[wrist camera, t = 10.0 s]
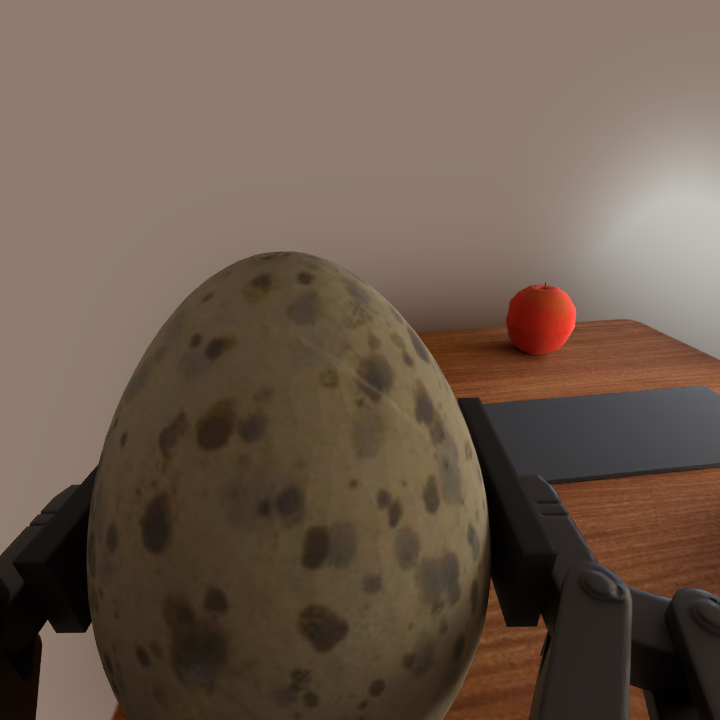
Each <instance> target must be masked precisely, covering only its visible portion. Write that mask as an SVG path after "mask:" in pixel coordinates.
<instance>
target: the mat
mask: <svg viewBox="0 0 720 720" xmlns="http://www.w3.org/2000/svg"><path fill="white" fill-rule="evenodd" d="M482 405H483V407H484V409H485V411H486V413H487V415H488V417H489V419H490V421H491V423H492V425H493V427H494V429H495V431H496V433H497V435H498V436H499V438H500V440H501V442H502V444H503V446H504V448H505V450H506V452H507V454H508V456H509V458H510V460H511V462H512V464H513V466H514V468H515V470H516V472H517V474H518V475H540V476H541V477H542V478H543V479H545V480H546V481H547V482H548V483H549V484H558V483H568V482H578V481H588V480H597V479H607V478H617V477H627V476H636V475H646V474H656V473H665V472H675V471H685V470H695V469H704V468H714V467H720V395H719V394H717V393H715V392H713V391H712V390H710V389H708V388H706V387H705V386H693V387H681V388H669V389H657V390H645V391H633V392H622V393H610V394H598V395H586V396H574V397H563V398H551V399H539V400H527V401H515V402H503V403H492V404H482Z"/></svg>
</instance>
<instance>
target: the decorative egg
mask: <svg viewBox="0 0 720 720" xmlns="http://www.w3.org/2000/svg"><path fill="white" fill-rule="evenodd" d="M490 579H491V535H490V524H489V513H488V506H487V499H486V493H485V488H484V483H483V478H482V473H481V469H480V465H479V462H478V458H477V454H476V451H475V448H474V445H473V442H472V439H471V436H470V434H469V431H468V428H467V425H466V422H465V420H464V417H463V415H462V412H461V410H460V407H459V405H458V403H457V401H456V399H455V396H454V394H453V392H452V390H451V388H450V386H449V384H448V382H447V380H446V378H445V377H444V375H443V373H442V371H441V370H440V368H439V366H438V364H437V363H436V361H435V359H434V358H433V356H432V355H431V353H430V352H429V350H428V349H427V347H426V346H425V345H424V343H423V342H422V340H421V339H420V338H419V336H418V335H417V334H416V332H415V331H414V330H413V329H412V328H411V326H410V325H409V324H408V323H407V322H406V321H405V319H404V318H403V317H402V316H401V315H400V313H399V312H398V311H397V310H396V309H395V308H394V307H393V306H392V305H391V304H390V303H389V302H388V301H387V300H386V299H385V298H384V297H383V296H382V295H381V294H379V293H378V292H377V291H376V290H375V289H374V288H372V287H371V286H370V285H369V284H368V283H366V282H365V281H363V280H362V279H360V278H359V277H357V276H356V275H354V274H353V273H351V272H350V271H348V270H347V269H345V268H343V267H341V266H339V265H337V264H335V263H333V262H331V261H328V260H326V259H323V258H320V257H317V256H313V255H310V254H306V253H300V252H271V253H263V254H258V255H254V256H251V257H249V258H246V259H243V260H240V261H238V262H236V263H234V264H232V265H230V266H228V267H226V268H225V269H223V270H222V271H220V272H218V273H216V274H215V275H213V276H212V277H210V278H209V279H208V280H206V281H205V282H204V283H203V284H201V285H200V286H199V287H198V288H197V289H195V290H194V291H193V292H192V293H191V294H190V295H189V296H188V297H187V298H186V299H185V300H184V301H183V302H182V303H181V305H180V306H179V307H178V308H177V309H176V310H175V311H174V313H173V314H172V315H171V316H170V317H169V319H168V320H167V321H166V322H165V324H164V325H163V326H162V328H161V329H160V330H159V332H158V333H157V335H156V337H155V338H154V339H153V341H152V342H151V344H150V345H149V347H148V348H147V350H146V352H145V354H144V355H143V357H142V359H141V361H140V362H139V364H138V366H137V368H136V369H135V371H134V373H133V376H132V377H131V379H130V381H129V383H128V385H127V387H126V389H125V391H124V393H123V395H122V398H121V400H120V402H119V405H118V407H117V409H116V411H115V414H114V417H113V419H112V422H111V425H110V427H109V430H108V433H107V435H106V439H105V442H104V446H103V450H102V453H101V457H100V461H99V464H98V468H97V472H96V477H95V483H94V488H93V494H92V499H91V507H90V515H89V524H88V536H87V582H88V599H89V606H90V614H91V619H92V624H93V630H94V636H95V640H96V645H97V648H98V652H99V655H100V658H101V661H102V665H103V668H104V671H105V673H106V676H107V678H108V681H109V683H110V685H111V688H112V690H113V692H114V695H115V697H116V699H117V701H118V703H119V705H120V707H121V708H122V710H123V712H124V714H125V716H126V717H127V719H128V720H442V719H443V718H444V716H445V715H446V713H447V712H448V710H449V709H450V707H451V705H452V704H453V702H454V700H455V698H456V697H457V695H458V693H459V691H460V689H461V687H462V685H463V683H464V681H465V678H466V676H467V674H468V671H469V669H470V666H471V664H472V662H473V659H474V657H475V654H476V651H477V648H478V645H479V641H480V637H481V633H482V629H483V625H484V622H485V616H486V611H487V605H488V598H489V589H490Z"/></svg>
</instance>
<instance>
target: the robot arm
mask: <svg viewBox="0 0 720 720" xmlns="http://www.w3.org/2000/svg"><path fill="white" fill-rule="evenodd" d="M458 405H459V407H460V410H461V412H462V415H463V417H464V420H465V422H466V425H467V428H468V431H469V434H470V436H471V439H472V442H473V445H474V448H475V451H476V454H477V458H478V462H479V465H480V469H481V473H482V478H483V483H484V488H485V493H486V499H487V506H488V513H489V524H490V535H491V578H492V581H493V585H494V588H495V591H496V594H497V597H498V600H499V604H500V607H501V610H502V613H503V616H504V620H505V623H506V626H507V627H529V626H537V624H538V621H539V617H540V614H542V617H543V619H544V622H545V624H546V627H547V629H548V632H547V635H546V638H545V641H544V645H543V648H542V651H541V654H540V655H541V656H542V658H541V663H540V668H539V672H538V677H537V682H536V687H535V692H534V697H533V701H532V706H531V711H530V716H529V720H629V696H630V685H633V686H635V687H638V688H641V689H643V693H644V697H645V701H646V705H647V709H648V713H649V717H650V720H720V598H719V597H717V596H715V595H714V594H711V593H709V592H706V591H703V590H701V589H696V588H683V589H680V590H677V591H676V593H675V595H674V596H673V598H672V599H670V598H666V597H663V596H659V595H655V594H652V593H648V592H644V591H641V590H638V589H635V588H632V587H629V586H627V585H625V583H624V582H623V580H622V579H621V578H620V577H618V576H617V575H616V574H615V573H614V572H613V571H612V570H610V569H608V568H606V567H604V566H603V565H601V564H599V562H598V561H597V560H596V558H595V556H594V555H593V553H592V551H591V550H590V548H589V546H588V545H587V543H586V541H585V539H584V538H583V536H582V534H581V533H580V531H579V529H578V528H577V526H576V524H575V523H574V521H573V519H572V518H571V516H569V514H568V511H567V509H566V508H565V506H564V504H562V501H561V499H560V498H559V496H558V494H557V493H556V491H555V489H554V488H553V486H552V485H550V484H549V483H548V482H547V481H546V480H545V479H543V478H542V477H541V476H540V475H518V474H517V472H516V470H515V468H514V466H513V464H512V462H511V460H510V458H509V456H508V454H507V452H506V450H505V448H504V446H503V444H502V442H501V440H500V438H499V436H498V435H497V433H496V431H495V429H494V427H493V425H492V423H491V421H490V419H489V417H488V415H487V413H486V411H485V409H484V407H483V405H482V403H481V401H480V399H479V398H458ZM97 468H98V465H97V467H96V468H95V469H94V470H93V471H92V472H91V473H90V475H89V476H88V477H87V478H86V479H85V480H84V481H83V483H82V484H81V485H71V486H70V487H68V488H67V489H65V490H64V491H63V492H61V493H60V494H58V495H57V496H56V497H54V498H53V499H52V500H51V501H50V502H49V503H48V505H47V506H46V507H45V508H44V509H43V510H42V511H41V514H40V515H37V517H35V519H34V520H33V521H32V522H31V523H30V526H29V527H26V528H25V529H24V530H23V531H22V533H21V534H20V535H19V536H18V537H17V538H16V539H15V540H14V541H13V542H12V543H11V544H10V546H9V547H8V548H7V549H6V550H5V551H4V552H3V553H2V554H1V555H0V720H36V709H37V697H38V686H39V675H40V663H41V653H42V641H41V637H40V636H39V634H38V633H39V631H40V630H41V628H42V627H43V625H44V624H45V623H46V621H47V620H49V622H50V624H51V625H52V627H53V628H54V630H55V631H56V633H85V632H86V631H87V629H88V627H89V625H90V624H91V622H92V619H91V614H90V606H89V599H88V582H87V536H88V524H89V515H90V507H91V499H92V494H93V488H94V483H95V477H96V472H97Z"/></svg>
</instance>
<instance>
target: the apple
mask: <svg viewBox="0 0 720 720" xmlns="http://www.w3.org/2000/svg"><path fill="white" fill-rule="evenodd" d="M575 317H576V309H575V307H574V305H573V303H572V301H571V299H570V297H569V295H567V294H566V293H565V292H564V291H562V290H561V289H559V288H556V287H552V286H547V285H546V283H545V285H533V286H529V287H527V288H525V289H523V290H521V291H519V292H518V293H517V294H516V295H515V296H514V297H513V299H511V301H510V304H509V310H508V314H507V318H506V323H507V329H508V335H509V338H510V339H511V341H512V342H513V343H514V344H515V345H516V346H517V347H518V348H519V349H520V350H521V351H523V352H525V353H528V354H531V355H543V354H545V353H548V352H551V351H553V350H556V349H559V348H561V347H562V346H563V345H564V343H565V342H566V340H567V339H568V337H569V335H570V334H571V332H572V331H573V329H574V327H575Z"/></svg>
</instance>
